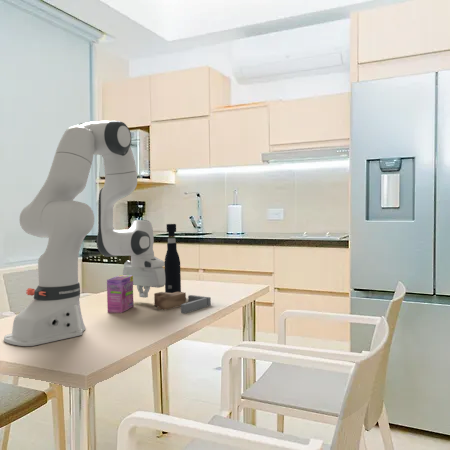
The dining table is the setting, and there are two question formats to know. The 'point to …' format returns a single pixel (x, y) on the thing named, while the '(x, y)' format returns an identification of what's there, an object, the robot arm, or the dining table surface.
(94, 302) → the dining table surface
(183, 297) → the t block
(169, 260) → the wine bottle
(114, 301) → the box
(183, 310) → the corner fence
